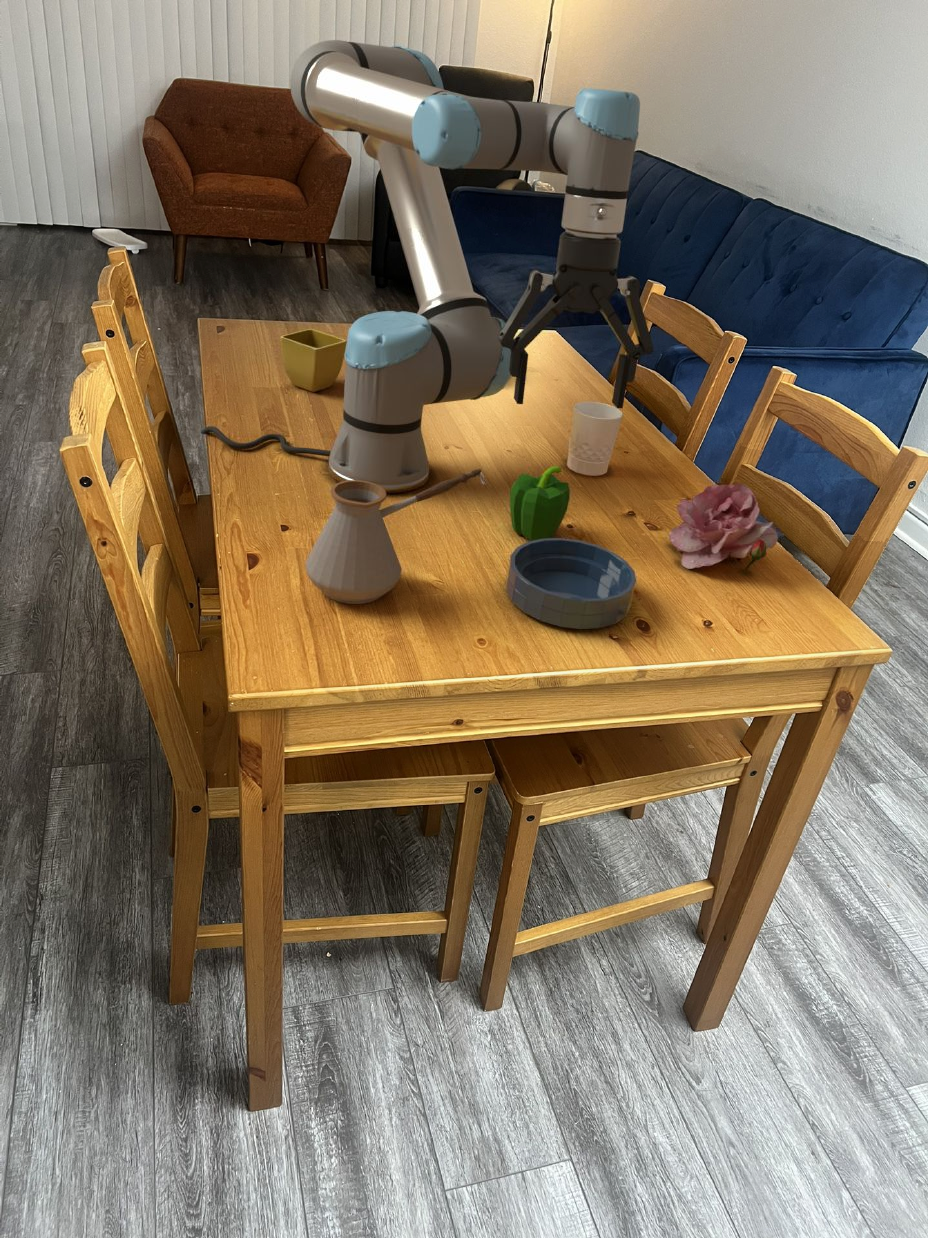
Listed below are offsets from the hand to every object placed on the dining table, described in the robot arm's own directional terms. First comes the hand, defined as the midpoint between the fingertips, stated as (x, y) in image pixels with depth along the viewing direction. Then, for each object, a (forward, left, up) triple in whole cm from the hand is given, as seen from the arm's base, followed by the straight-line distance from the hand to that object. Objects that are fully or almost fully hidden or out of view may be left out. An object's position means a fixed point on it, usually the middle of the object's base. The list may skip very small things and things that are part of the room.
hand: (568, 403), depth 126 cm
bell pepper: (-2, -3, -19) cm, 19 cm away
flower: (+24, -3, -19) cm, 31 cm away
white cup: (+7, +24, -19) cm, 31 cm away
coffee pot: (-20, -22, -19) cm, 35 cm away
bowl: (+2, -20, -18) cm, 27 cm away
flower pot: (-43, +46, -19) cm, 65 cm away
